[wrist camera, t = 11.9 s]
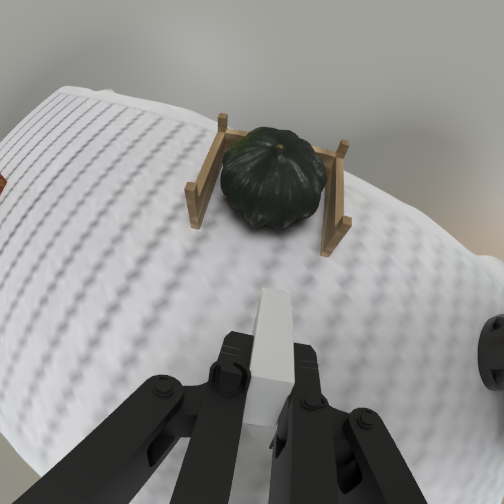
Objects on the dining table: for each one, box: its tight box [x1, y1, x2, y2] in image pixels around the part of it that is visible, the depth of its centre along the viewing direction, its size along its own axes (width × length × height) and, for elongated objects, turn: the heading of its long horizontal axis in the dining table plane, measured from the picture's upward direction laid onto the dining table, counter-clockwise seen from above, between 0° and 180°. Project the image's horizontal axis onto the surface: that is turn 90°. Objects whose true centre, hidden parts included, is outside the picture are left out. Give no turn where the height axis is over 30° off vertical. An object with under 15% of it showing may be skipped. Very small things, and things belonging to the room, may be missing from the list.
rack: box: [184, 113, 352, 257], centre depth 40 cm, size 20×16×9 cm
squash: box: [220, 127, 327, 230], centre depth 38 cm, size 14×15×15 cm
